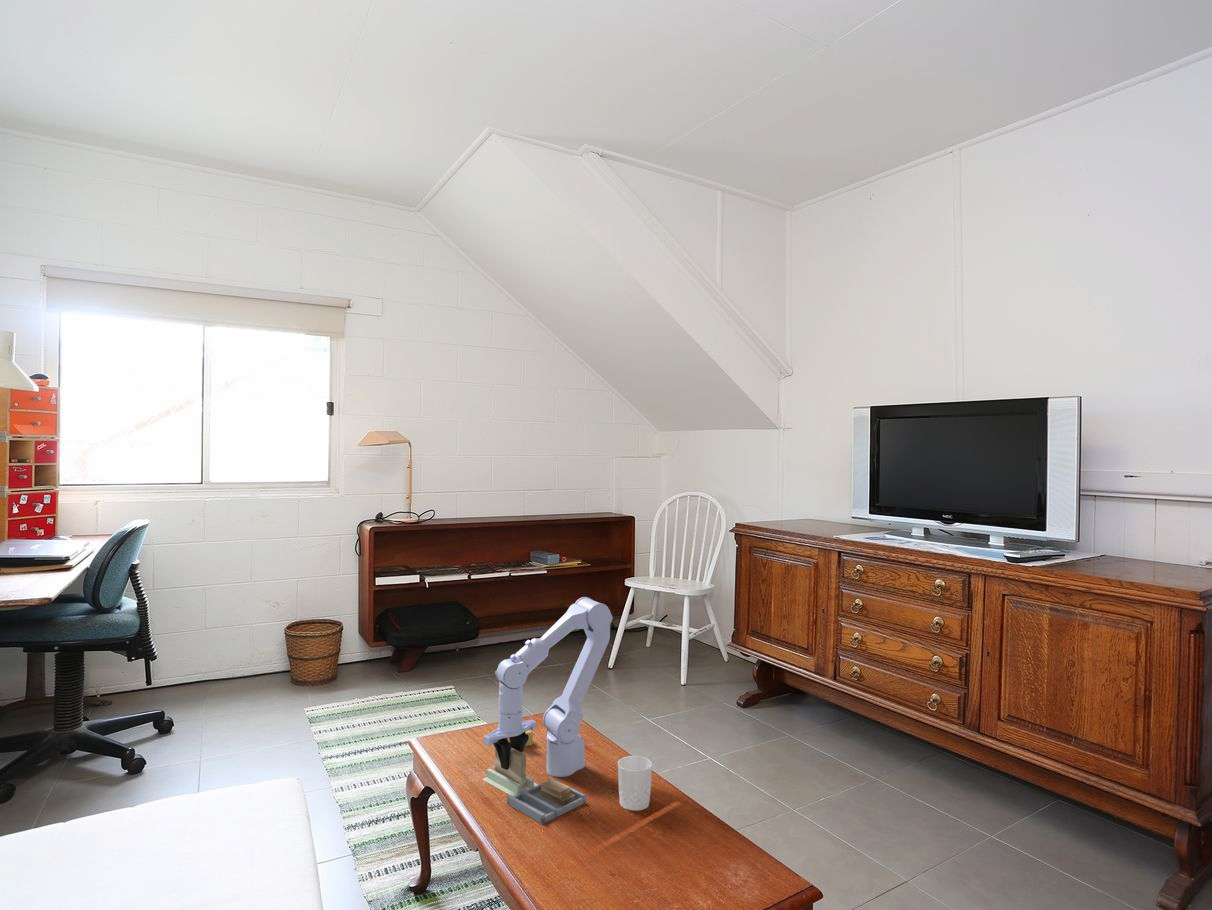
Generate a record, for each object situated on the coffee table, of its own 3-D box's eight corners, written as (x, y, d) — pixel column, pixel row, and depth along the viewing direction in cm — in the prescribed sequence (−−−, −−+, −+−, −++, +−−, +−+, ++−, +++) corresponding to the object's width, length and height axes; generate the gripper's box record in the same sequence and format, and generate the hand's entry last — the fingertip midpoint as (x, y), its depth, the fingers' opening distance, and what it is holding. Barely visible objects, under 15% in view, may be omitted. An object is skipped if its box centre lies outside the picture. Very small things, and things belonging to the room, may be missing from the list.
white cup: (656, 802, 165) (657, 759, 165) (644, 818, 158) (644, 773, 158) (625, 795, 168) (625, 753, 168) (611, 810, 161) (612, 766, 161)
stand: (507, 771, 180) (507, 761, 180) (538, 788, 171) (538, 777, 171) (481, 782, 174) (481, 771, 174) (512, 799, 165) (512, 788, 165)
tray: (550, 788, 171) (550, 777, 171) (585, 806, 163) (585, 794, 163) (507, 807, 162) (507, 796, 162) (542, 827, 154) (542, 815, 154)
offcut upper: (550, 785, 168) (551, 779, 168) (570, 792, 164) (570, 786, 164) (541, 790, 166) (541, 784, 166) (560, 798, 162) (560, 792, 162)
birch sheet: (500, 774, 176) (500, 742, 176) (525, 788, 169) (526, 754, 169) (495, 776, 175) (495, 743, 175) (520, 790, 168) (521, 756, 168)
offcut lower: (552, 789, 169) (552, 783, 169) (575, 801, 163) (575, 795, 163) (540, 794, 166) (540, 788, 166) (563, 807, 161) (563, 801, 161)
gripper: (523, 698, 180) (522, 752, 180) (476, 713, 170) (475, 770, 170) (541, 706, 175) (541, 760, 176) (494, 722, 165) (493, 780, 165)
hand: (510, 766), depth 172 cm, fingers open, 3 cm apart
